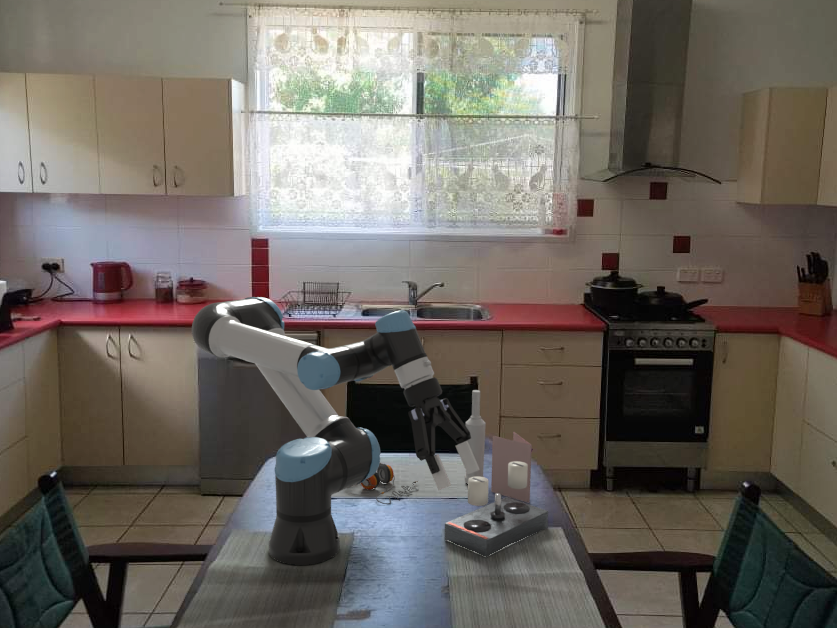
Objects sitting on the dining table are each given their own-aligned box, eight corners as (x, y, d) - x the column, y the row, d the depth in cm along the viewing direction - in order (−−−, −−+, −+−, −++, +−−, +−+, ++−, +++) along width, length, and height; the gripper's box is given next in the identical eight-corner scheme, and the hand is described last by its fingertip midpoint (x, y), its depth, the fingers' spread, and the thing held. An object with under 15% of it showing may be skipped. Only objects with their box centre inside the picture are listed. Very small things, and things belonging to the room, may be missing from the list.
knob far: (503, 485, 187) (504, 464, 186) (515, 480, 190) (516, 459, 189) (519, 490, 184) (519, 469, 183) (530, 485, 187) (531, 464, 186)
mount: (444, 540, 180) (444, 522, 179) (506, 512, 195) (507, 495, 195) (486, 558, 172) (486, 539, 171) (547, 527, 187) (548, 510, 186)
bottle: (461, 480, 216) (463, 389, 212) (479, 478, 217) (481, 388, 213) (468, 487, 211) (470, 394, 207) (487, 485, 212) (489, 392, 208)
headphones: (388, 497, 197) (332, 461, 209) (384, 516, 199) (329, 479, 210) (432, 479, 210) (376, 446, 221) (428, 497, 211) (373, 463, 223)
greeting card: (532, 502, 201) (534, 444, 199) (505, 505, 199) (506, 447, 197) (514, 486, 212) (516, 431, 210) (488, 488, 210) (489, 433, 208)
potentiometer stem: (487, 517, 183) (488, 494, 182) (496, 512, 185) (497, 490, 184) (498, 521, 181) (499, 498, 180) (507, 517, 183) (508, 494, 182)
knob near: (463, 501, 177) (464, 479, 176) (476, 496, 180) (477, 474, 179) (479, 507, 174) (479, 485, 173) (492, 502, 177) (492, 479, 176)
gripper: (403, 384, 154) (447, 488, 151) (459, 368, 176) (499, 460, 173) (373, 398, 158) (415, 501, 155) (432, 381, 180) (470, 471, 177)
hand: (459, 479), depth 164 cm, fingers open, 13 cm apart
